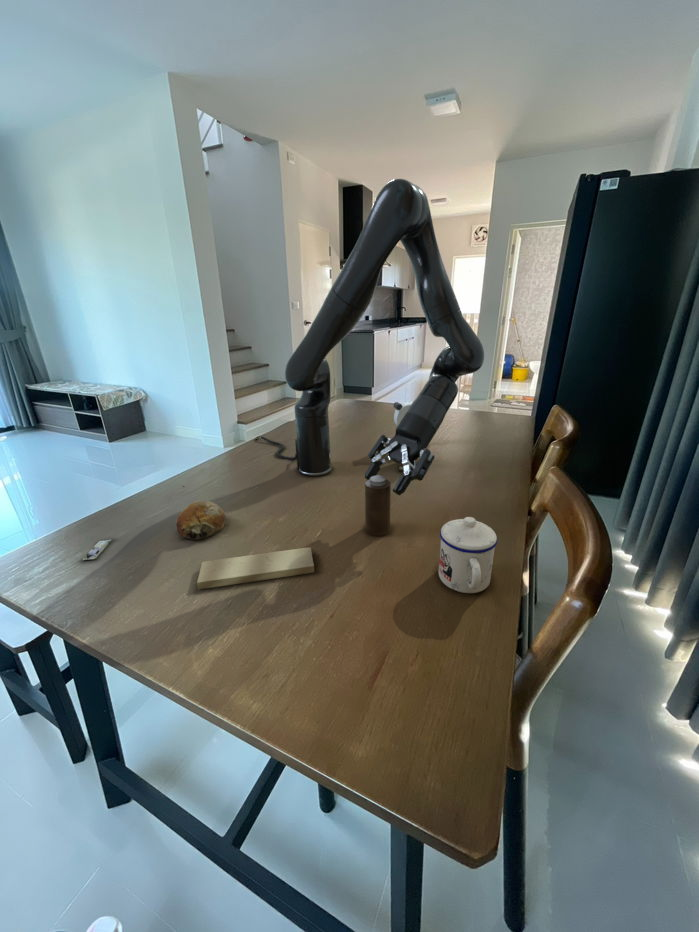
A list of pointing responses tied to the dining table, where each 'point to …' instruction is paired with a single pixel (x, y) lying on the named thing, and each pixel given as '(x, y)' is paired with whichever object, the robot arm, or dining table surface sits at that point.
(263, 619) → the dining table surface
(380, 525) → the pepper mill
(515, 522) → the dining table surface
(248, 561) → the serving board
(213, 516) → the bread roll
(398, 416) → the panda figurine
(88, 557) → the granola bar
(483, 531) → the teacup with lid
